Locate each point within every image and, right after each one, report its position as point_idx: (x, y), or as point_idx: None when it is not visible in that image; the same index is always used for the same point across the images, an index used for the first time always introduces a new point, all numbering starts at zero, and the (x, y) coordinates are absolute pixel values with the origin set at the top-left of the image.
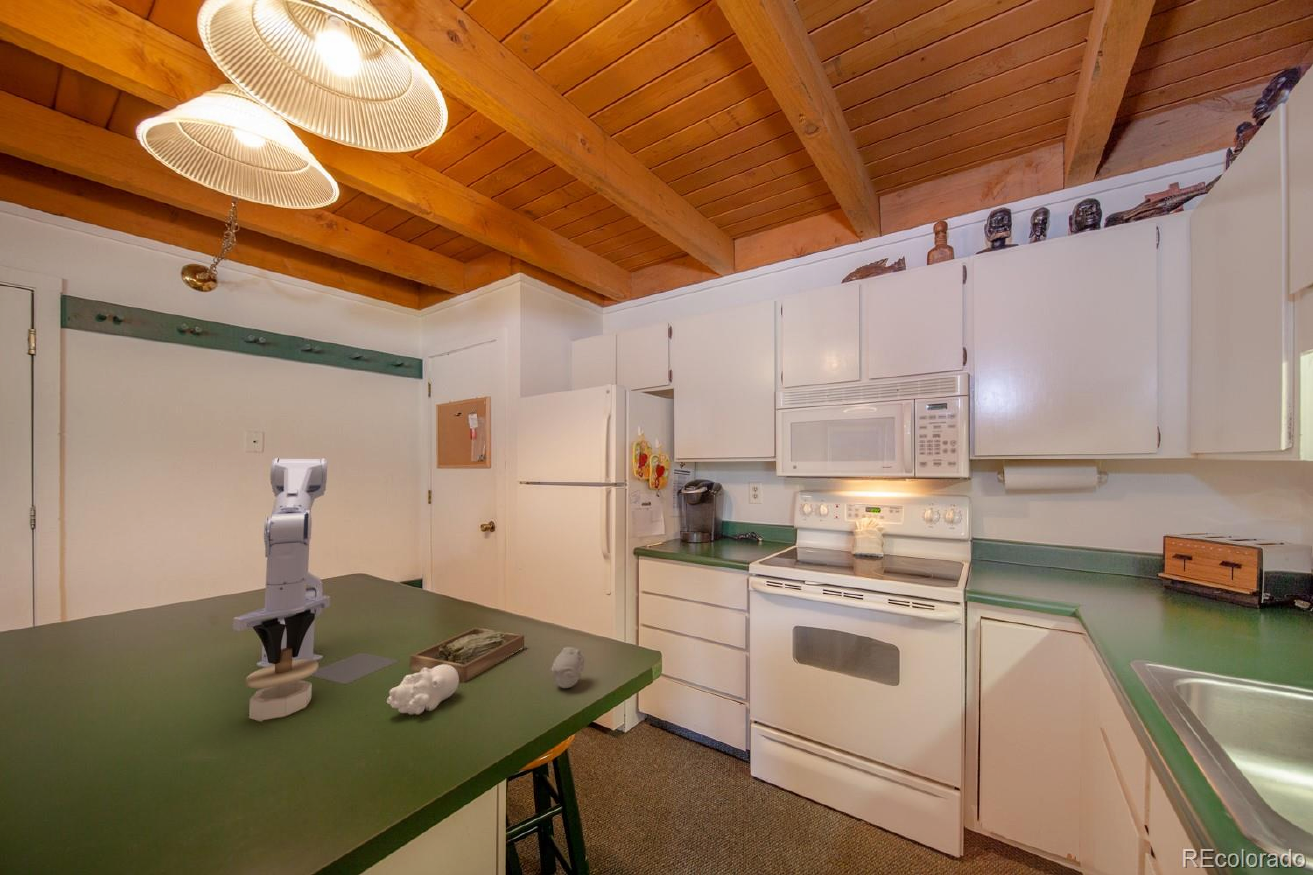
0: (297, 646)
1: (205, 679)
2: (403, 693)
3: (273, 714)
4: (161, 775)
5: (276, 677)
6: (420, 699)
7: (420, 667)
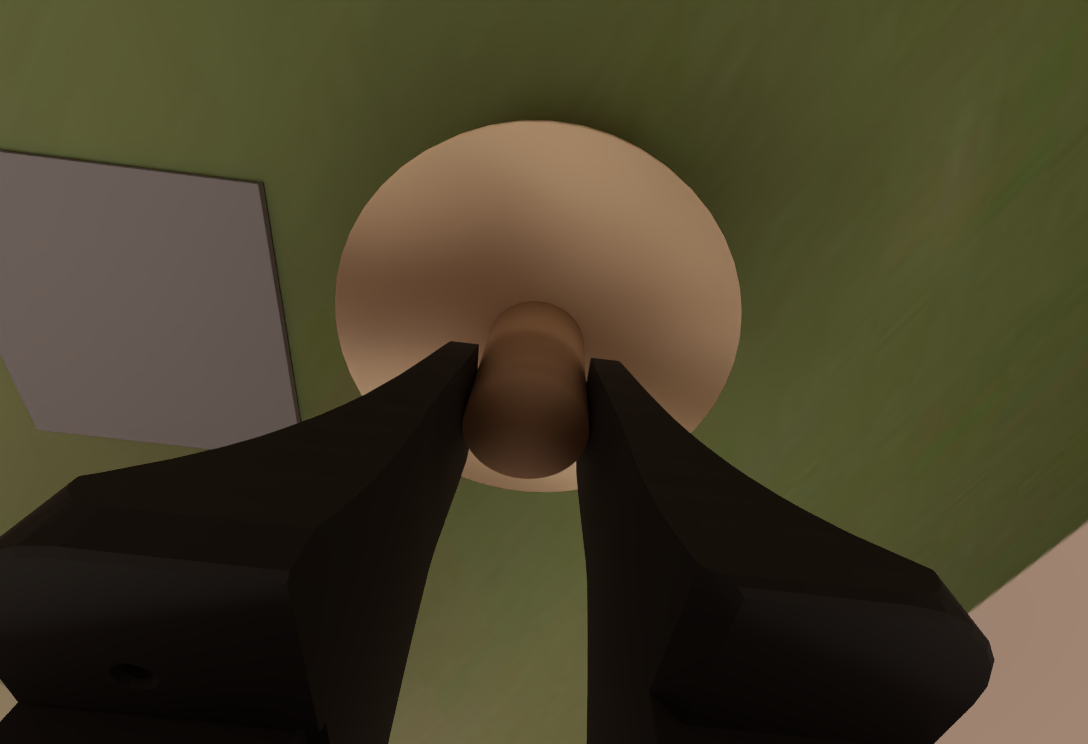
0: (449, 368)
1: (472, 675)
2: None
3: None
4: (1082, 203)
5: (641, 279)
6: None
7: None
